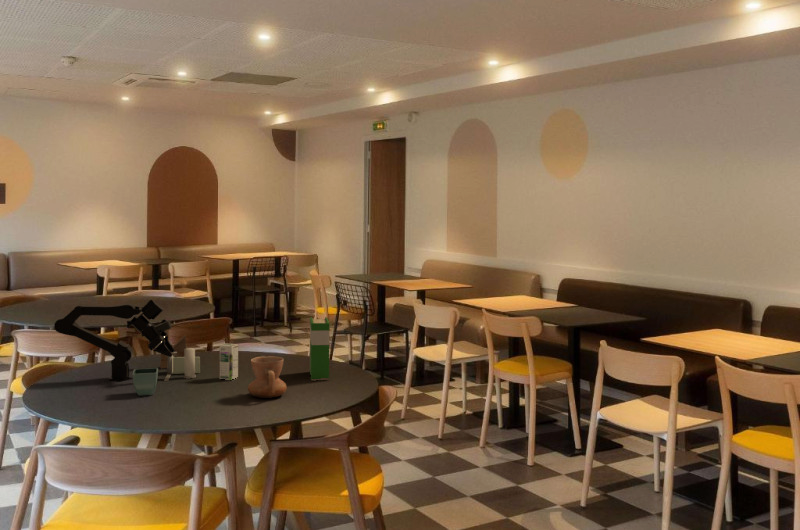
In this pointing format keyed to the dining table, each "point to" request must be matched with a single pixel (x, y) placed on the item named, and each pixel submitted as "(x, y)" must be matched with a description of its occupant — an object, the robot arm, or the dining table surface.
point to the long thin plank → (169, 367)
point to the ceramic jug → (267, 377)
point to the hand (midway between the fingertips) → (172, 354)
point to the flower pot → (145, 380)
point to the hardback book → (319, 348)
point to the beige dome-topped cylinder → (189, 363)
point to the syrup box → (228, 361)
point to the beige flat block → (180, 365)
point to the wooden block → (177, 347)
